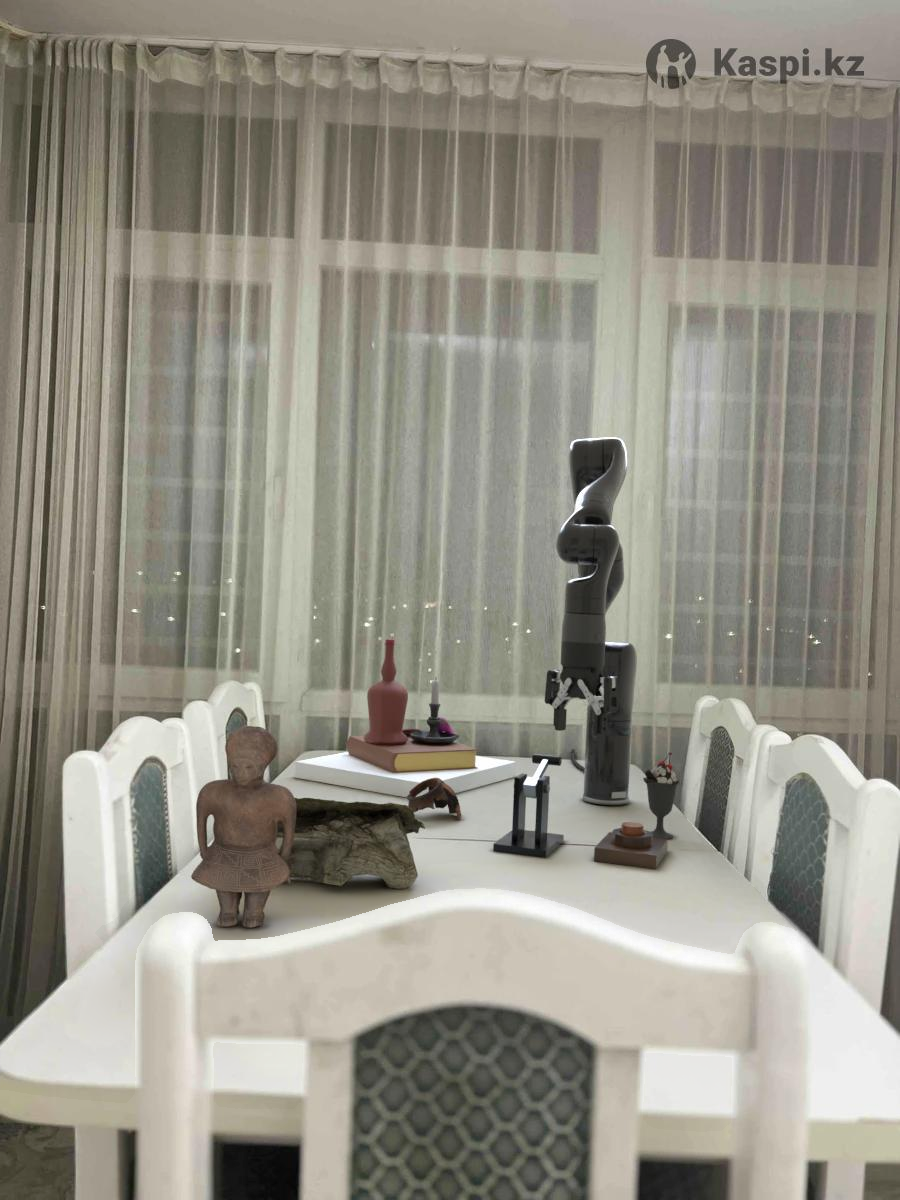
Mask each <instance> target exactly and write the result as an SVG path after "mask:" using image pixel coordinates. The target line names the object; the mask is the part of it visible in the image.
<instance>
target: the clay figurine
mask: <svg viewBox="0 0 900 1200" xmlns="http://www.w3.org/2000/svg"><path fill="white" fill-rule="evenodd" d="M224 750H225V754H226V758H227V766H228V769H229V771H230V773H231V774H232V775H233V777H232V778H225V779H216V780H212V781H209V782H207V783H205V784H204V785H203V786H202V788H201V789H200V791H199V792H198V795H197V799H196V805H195V812H196V813H195V814H196V835H197V837H196V838H197V843H198V844H197V845H198V848H199V856H200V859H202V860H201V861H200V862H199V864H198V865H196V867H195V869H194V870H193V872H192V873H191V876H190V878H191V880H192V881H194V882H195V883H198V884H199V885H202V886H204V887H206V888H208V889H210V890H214V891H215V893H216V896H217V900H218V903H219V909H220V910H219V914H218V918H217V920H216V925H217V926H218V927H220V928H223V927H225V928H227V927H229V928H230V927H233V926H236V925H237V924H238V920H239V915H240V904H241V900H242V898H243V895H244V899H243V913H242V920H241V925H242V926H243V927H244V928H256V927H261V926H263V925H264V920H265V912H264V909H265V907H266V904H267V902H268V899H269V897H270V893H271V892H272V890H274V889H275V888H278V887H279V886H280V885H291V883H292V878H290V876H289V875H290V870H289V867H288V866H287V864H286V862H287V861H288V859H289V855H290V853H291V849H292V845H293V841H294V832H295V824H296V801H295V798H296V797H295V796H294V794H293V793H292V791H291V790H290V789H289V788H287V787H286V786H284V785H280V784H276V783H270V782H267V781H266V780H265V779H264V777H265V772H266V769H267V768H268V766H269V765H270V764H271V763H272V762H273V760H274V759H275V757H276V756H277V754H278V750H279V749H278V742H277V740H276V739H275V737H274V736H273V734H272V733H271V732H269V730H267V729H265V728H264V727H261V726H254V725H242V726H240V727H238V728H237V729H234V730H233V732H232V733H230V735H228V736H227V739H226V742H225V746H224ZM210 816H212V818H213V825H212V832H213V841H212V843H211V844H210V845H209V846H208V827H207V826H208V825H207V824H208V819H209V817H210ZM280 821H281V822H282V823H283V826H284V835H283V840H282V848H281V851H280V852H279V850H278V848H277V846H276V839H277V835H278V826H279V822H280Z"/></svg>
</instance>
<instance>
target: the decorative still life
mask: <svg viewBox="0 0 900 1200" xmlns="http://www.w3.org/2000/svg"><path fill="white" fill-rule="evenodd" d="M384 642H385V643H384V645H385V647H384V648H385V649H384V650H385V651H384V653H385V654H384V661H383V663H382V665H381V670H380V674H381V678H382V680H380V681H378V682H376V683H374V684H372V685H371V686H370V687H369V689H368V691H367V693H366V694H367V695H366V699H367V707H368V708H367V709H368V719H369V721H368V722H369V731H368V732H366V733H365V734H364V735H349V737H348V739H347V740H346V746H345V748H346V751H344V752H338V753H333V754H329V755H323V756H318V757H312V758H307V759H301V760H296V761H295V762H294V778H296V779H302V780H307V781H311V782H312V781H313V782H319V783H324V784H330V785H335V786H340V787H347V788H351V789H352V788H353V789H358V790H363V791H368V792H374V793H379V794H385V795H390V796H397V797H402V798H407V796H408V795H409V794H410V793H409V792H410V790H411V789H412V788H414V787H415V786H416V785H418V784H419V783H421V782H422V781H425V780H427V779H431V778H439V779H441V780H442V781H444V783H445V784H447V785H448V786H450V787H451V788H452V790H454V792H455V793H456V794H458V793H462V792H465V791H466V792H467V791H469V790H472V789H473V790H474V789H476V788H479V787H484V786H488V785H491V784H494V783H497V782H502V781H505V780H509V779H511V778H515V777H516V767H517V766H516V765H517V762H516V761H513V760H506V759H500V758H491V757H486V756H481V755H477V751H479V748H476V747H473V746H469V745H466V744H463V743H460V742H458V741H457V740H458V739H459V737H460V734H455V732H454V730H453V728H452V727H451V724H449V722H448V719H446V718H445V717H443V716H439V711H440V707H441V703H439V702H440V701H439V699H440V681H439V679H437V676H435V679H433V680H432V681H431V698H430V702H429V704H428V706H429V709H430V716H428V718H427V720H426V724H427V725H428V726H429V731H428V730H427V731H424V730H423V731H422V730H421V729H419V728H406V729H404V728H403V727H404V723H405V717H406V711H407V706H408V701H409V693H408V690H407V689H406V688H405V686H403V685H402V684H400V683H399V682H397V681H396V680H395V677H396V675H397V668H396V667H397V666H396V664H395V658H394V653H395V645H396V643H395V642H396V641H395V639H393V638H386V639H385V641H384ZM428 788H429V787H427V789H426V790H424V791H422V792H421V793H419V794H418V795H417V796H416V797H418V796H421V795H424V794H426V793H427V792H429V789H428Z"/></svg>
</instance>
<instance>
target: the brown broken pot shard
mask: <svg viewBox="0 0 900 1200" xmlns="http://www.w3.org/2000/svg"><path fill="white" fill-rule="evenodd" d="M427 787H429V788H428V789H429V792H427V793H426V794H424V795H421V796H418V797H416V796H417V795H418V794H419V793H421V792H422V791H424V790H426V789H427ZM409 793H410V794H409V795H408V796H407V797H406V799H407V800H408V803H407V804H408V805H407V806H410V807H411V808H413V809H415V811H416V812H418V811H424V810H425V809H432V810H435V808H436V809H445V808H447V809H448V813H449V815H454V814H456V820H457V821H461V819H462V812H461V805H460V802H459V798H458V796H457V793H455V792H454V790H452V788H451V787H450V786H448V785H447V784H445V783H444V781H442V780H441V779H439V778H431V779H427V780H425V781H422V782H421V783H419V784H418V785H416V786H415V787H414V788H412V789H411V790H410V792H409Z"/></svg>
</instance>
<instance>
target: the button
mask: <svg viewBox="0 0 900 1200" xmlns="http://www.w3.org/2000/svg"><path fill="white" fill-rule="evenodd" d="M621 828H622V830H621V833H622V834H626V835H633V836H641V835H643V832H644V830H645V826H644V824H643V823H640V822H636V821H625V822H622V823H621Z"/></svg>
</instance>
